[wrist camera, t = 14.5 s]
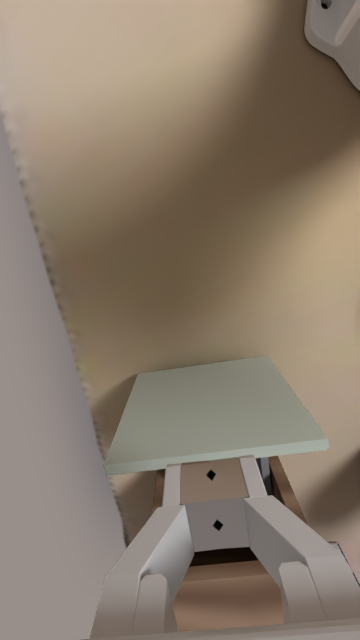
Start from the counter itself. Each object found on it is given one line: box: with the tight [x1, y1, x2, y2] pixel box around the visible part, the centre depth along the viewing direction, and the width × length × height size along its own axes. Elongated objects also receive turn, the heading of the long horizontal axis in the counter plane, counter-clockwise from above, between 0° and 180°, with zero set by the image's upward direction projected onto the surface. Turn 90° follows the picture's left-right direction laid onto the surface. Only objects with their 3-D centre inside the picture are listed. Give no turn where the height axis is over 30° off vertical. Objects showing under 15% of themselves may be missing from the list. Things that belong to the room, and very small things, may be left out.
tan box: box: [152, 456, 307, 632], centre depth 29 cm, size 16×14×14 cm
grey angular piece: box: [103, 356, 329, 494], centre depth 25 cm, size 15×14×13 cm
